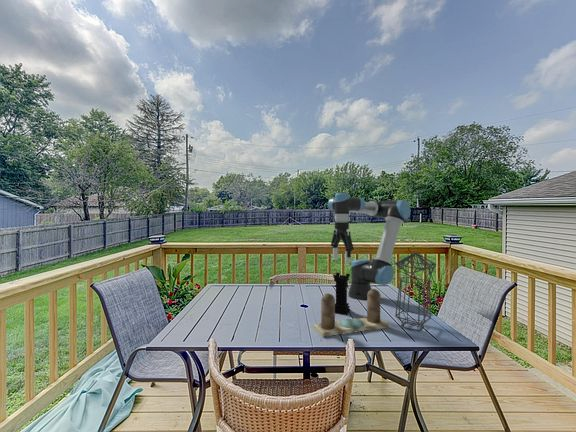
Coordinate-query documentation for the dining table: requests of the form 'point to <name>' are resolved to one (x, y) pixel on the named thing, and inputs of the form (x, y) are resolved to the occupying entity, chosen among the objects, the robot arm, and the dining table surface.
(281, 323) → the dining table surface
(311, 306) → the dining table surface
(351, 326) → the wooden twin peg stand
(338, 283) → the chess piece
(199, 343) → the dining table surface
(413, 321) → the geometric lantern
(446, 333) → the dining table surface
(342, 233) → the robot arm
